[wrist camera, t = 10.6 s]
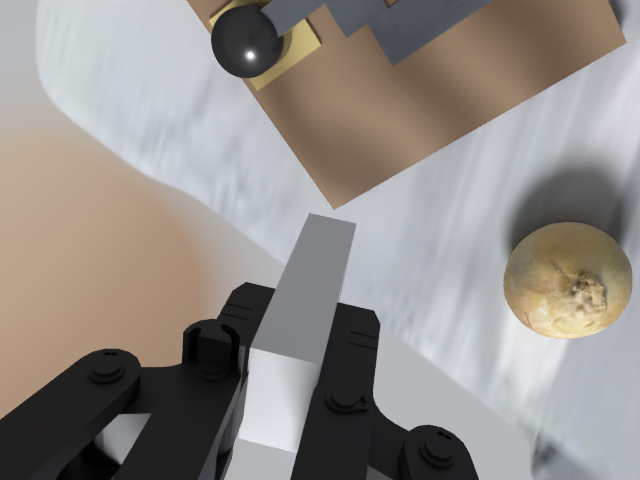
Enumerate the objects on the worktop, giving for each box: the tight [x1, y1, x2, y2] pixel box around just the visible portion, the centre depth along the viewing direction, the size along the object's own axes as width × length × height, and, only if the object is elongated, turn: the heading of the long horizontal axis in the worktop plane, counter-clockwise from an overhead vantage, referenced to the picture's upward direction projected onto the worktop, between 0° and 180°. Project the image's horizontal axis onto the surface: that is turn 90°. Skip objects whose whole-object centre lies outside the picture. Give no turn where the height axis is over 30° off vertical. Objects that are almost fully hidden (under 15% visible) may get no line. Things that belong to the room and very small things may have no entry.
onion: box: [503, 222, 632, 339], centre depth 35 cm, size 8×8×7 cm
